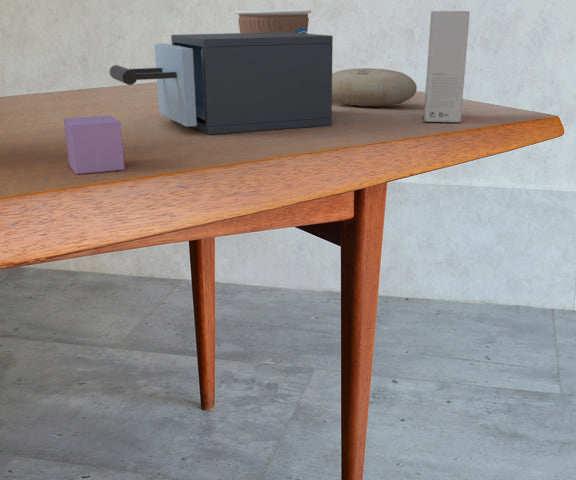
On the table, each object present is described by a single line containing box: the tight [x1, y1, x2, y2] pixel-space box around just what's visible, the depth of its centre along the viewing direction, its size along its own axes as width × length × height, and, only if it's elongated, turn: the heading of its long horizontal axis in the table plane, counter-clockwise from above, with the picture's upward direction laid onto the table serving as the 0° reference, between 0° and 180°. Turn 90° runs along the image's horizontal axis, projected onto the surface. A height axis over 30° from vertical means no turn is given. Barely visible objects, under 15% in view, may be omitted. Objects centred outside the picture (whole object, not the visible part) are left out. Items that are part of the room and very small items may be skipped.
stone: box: [332, 67, 418, 107], centre depth 97 cm, size 6×6×12 cm
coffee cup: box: [235, 9, 312, 34], centre depth 102 cm, size 10×10×12 cm
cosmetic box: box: [423, 10, 470, 123], centre depth 85 cm, size 6×4×12 cm
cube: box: [63, 115, 126, 175], centre depth 62 cm, size 4×4×4 cm
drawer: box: [109, 43, 205, 128], centre depth 82 cm, size 19×11×8 cm, turn 113°
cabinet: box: [170, 32, 334, 136], centre depth 84 cm, size 15×13×10 cm
